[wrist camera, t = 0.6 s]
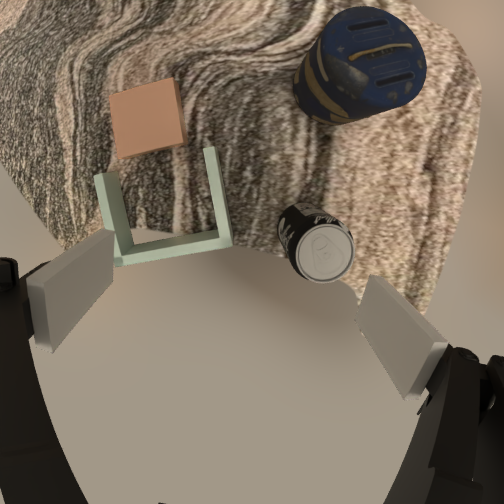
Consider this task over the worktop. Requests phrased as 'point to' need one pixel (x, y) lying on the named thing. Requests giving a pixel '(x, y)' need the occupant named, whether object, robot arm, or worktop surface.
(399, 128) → the worktop surface
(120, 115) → the orange block
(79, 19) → the worktop surface
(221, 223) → the green u-shaped bracket
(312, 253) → the beverage can
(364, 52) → the canister
